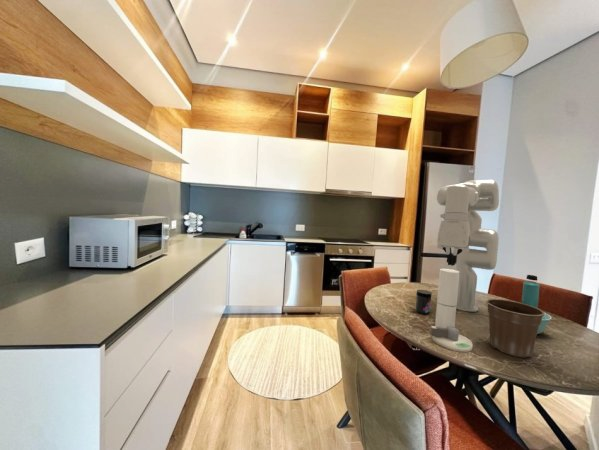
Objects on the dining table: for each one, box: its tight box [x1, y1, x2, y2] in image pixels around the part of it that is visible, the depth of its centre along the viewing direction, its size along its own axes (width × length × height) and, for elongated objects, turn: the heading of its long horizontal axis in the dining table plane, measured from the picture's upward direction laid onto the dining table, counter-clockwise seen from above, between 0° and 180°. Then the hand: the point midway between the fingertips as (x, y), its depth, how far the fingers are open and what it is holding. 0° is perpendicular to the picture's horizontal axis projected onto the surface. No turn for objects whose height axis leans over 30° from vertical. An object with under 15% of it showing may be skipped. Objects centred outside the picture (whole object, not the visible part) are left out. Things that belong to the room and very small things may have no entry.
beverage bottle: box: [521, 274, 541, 309], centre depth 129 cm, size 6×7×20 cm
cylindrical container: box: [434, 268, 459, 328], centre depth 107 cm, size 7×7×25 cm
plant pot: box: [485, 298, 546, 359], centre depth 92 cm, size 16×16×16 cm
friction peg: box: [430, 325, 460, 341], centre depth 95 cm, size 10×4×4 cm, turn 83°
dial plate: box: [431, 334, 473, 353], centre depth 95 cm, size 13×13×2 cm
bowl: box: [537, 312, 552, 335], centre depth 109 cm, size 16×16×8 cm
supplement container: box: [414, 289, 433, 316], centre depth 123 cm, size 7×7×10 cm
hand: (451, 264), depth 97 cm, fingers closed
